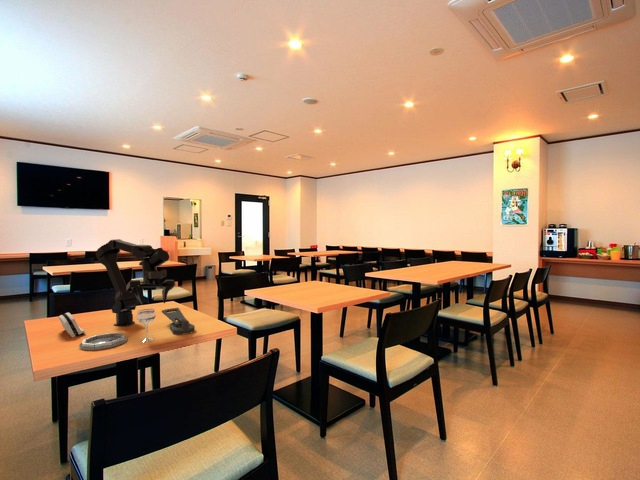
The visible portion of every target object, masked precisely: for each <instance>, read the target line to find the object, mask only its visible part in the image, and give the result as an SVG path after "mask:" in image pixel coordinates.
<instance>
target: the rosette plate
mask: <svg viewBox="0 0 640 480" xmlns="http://www.w3.org/2000/svg"><path fill="white" fill-rule="evenodd" d="M127 341H128V337H127V336H126V335H125V334H124V333H121V332H120V333H119V332H108V333H102V334H95V335H91V336H89V337H87V338H83V339H82V342H81V343H80V344H79V346H78V347H79V350H81V351H86V352H89V351H90V352H91V351H102V350H107V349H112V348H116V347H119V346H122V345H123V344H126V343H127Z"/></svg>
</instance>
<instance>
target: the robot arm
mask: <svg viewBox="0 0 640 480" xmlns="http://www.w3.org/2000/svg"><path fill="white" fill-rule="evenodd" d="M121 251H123V252H125V253H129V254H131V255H132V257H134V258H136V259H141V260H140V261H139V264H138V266H141V267H142V268H141V269H142V275H141V277H142V278H143V282H141V280H139V279H135V280H134V279H132V280H129V282H128V283H126V282H125V279H124V277H123V274H122V273H121V270H120V268H119V265H118V259H119V255H118V254H119V253H120V252H121ZM95 256H96V259H97V260H98V261H99V263H100V264H101V265H103V266H105V269H106V272H107V274H108V276H109V279H110V281H111V284H112V286H113V288H114V291H115V296H114V301H115V303H114V304H113V306H112V307H111V312H112V313H113V314H115V319H116V320H115V322H116V323H114V324H113V326H115V327H116V326H118V327H119V326H120V327H126V326H129V325H131V324H134V323H136V321H134V319H133V318H134V315H133V311H135V310H136V308H137V304H138V302H139V303H140V305H143V304H144V298H143V293H142V289H143V288H161V289H162V290H161V296H162V302H163V304H166V302H167V297H168V294H169V292H170V291H171V290H172V289H173V288H174V287H175V286H176V281H175V280H174V279H165V280H164V281H163V282H160V281H161V279H163V278H166V277H167V269H160V271H159V269H157V267H160V266H162V265H163V264H165V263H166V262H168V261H169V260H170V254H169V253H168V252H167V251H166V250H164V249H163V248H162V247H157V248H156V249H154V248H153V246H152V245H149V244H136V243H132V242H129V241H124V240H122V239H119V238H118V239H110V240H109V241H108V242H107V243H105V244H102V245H101V246H100V247H99V248H97V250H95Z"/></svg>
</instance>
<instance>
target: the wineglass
mask: <svg viewBox="0 0 640 480" xmlns="http://www.w3.org/2000/svg"><path fill="white" fill-rule="evenodd" d="M155 311H156V309H155V308H143V309H140V310H137V311H136V312H137V315H136V318H137V319H136V320H137V321H138V322H139V323H140V324H144V325H145V336H146V337H145V338H143V339H141V340H140V341H139V342H140V343H149V342H152V341H154V338H152V337H149V336H148V331H149V330H148V328H149V327H148V326H149V324H150V323H151V322H153V321H154V320H155V319H156V312H155Z"/></svg>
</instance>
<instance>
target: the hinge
mask: <svg viewBox="0 0 640 480" xmlns="http://www.w3.org/2000/svg"><path fill="white" fill-rule="evenodd" d="M58 320H59V321H60V323H61V325H62V328H63V329H64V331H65V330H66V331H67V333H66V334H68V335H69V336H70V337H71V338H75V337H76V336H77V335H81V334H83V335H85V336H86V335H87V333H86V331H85V330H84V329H83V328H81V327H80V326H79V325H78V322H77V321H76V319H75V318H74V316H73V315H72V314H71V313H70V312H65V313H64V314H60V315H59V316H58ZM66 331H65V332H66Z"/></svg>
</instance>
